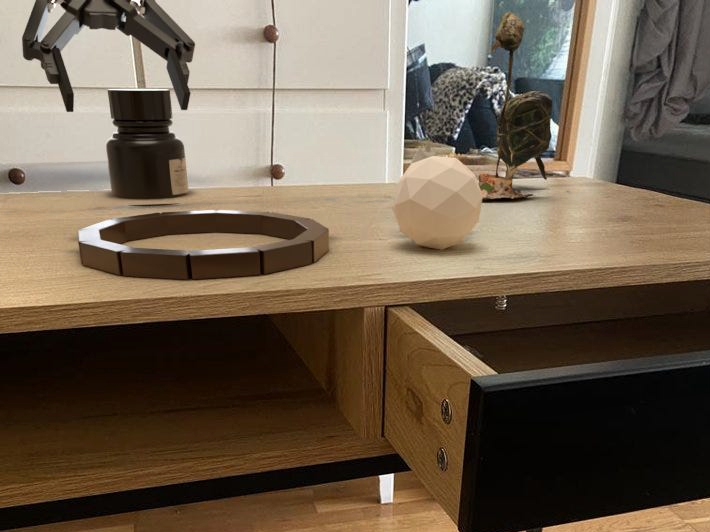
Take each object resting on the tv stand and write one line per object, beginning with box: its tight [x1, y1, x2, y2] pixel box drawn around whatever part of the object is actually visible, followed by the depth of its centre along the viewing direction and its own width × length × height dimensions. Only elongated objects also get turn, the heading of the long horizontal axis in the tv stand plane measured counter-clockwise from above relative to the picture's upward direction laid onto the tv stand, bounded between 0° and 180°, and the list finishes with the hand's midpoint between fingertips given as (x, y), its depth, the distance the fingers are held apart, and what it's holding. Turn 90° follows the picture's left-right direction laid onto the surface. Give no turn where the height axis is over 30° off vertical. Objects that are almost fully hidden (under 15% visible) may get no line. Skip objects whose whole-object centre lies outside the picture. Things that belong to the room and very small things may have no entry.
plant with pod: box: [478, 11, 555, 200], centre depth 92 cm, size 8×11×20 cm
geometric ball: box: [392, 155, 484, 251], centre depth 67 cm, size 8×8×8 cm
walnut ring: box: [77, 209, 330, 281], centre depth 66 cm, size 21×21×2 cm
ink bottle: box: [105, 88, 189, 207], centre depth 88 cm, size 10×9×12 cm
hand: (130, 102), depth 90 cm, fingers open, 13 cm apart
